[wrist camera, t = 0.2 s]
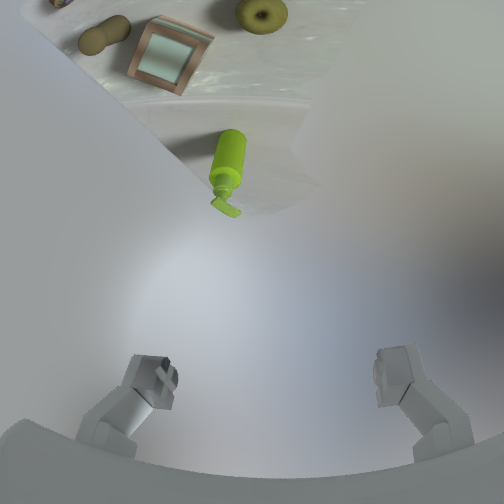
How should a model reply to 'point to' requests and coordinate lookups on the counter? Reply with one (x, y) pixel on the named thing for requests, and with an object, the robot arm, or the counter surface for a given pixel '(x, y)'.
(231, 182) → the soap dispenser
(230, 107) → the counter surface
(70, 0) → the tin
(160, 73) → the brown wooden square box
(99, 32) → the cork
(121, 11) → the counter surface
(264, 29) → the apple
